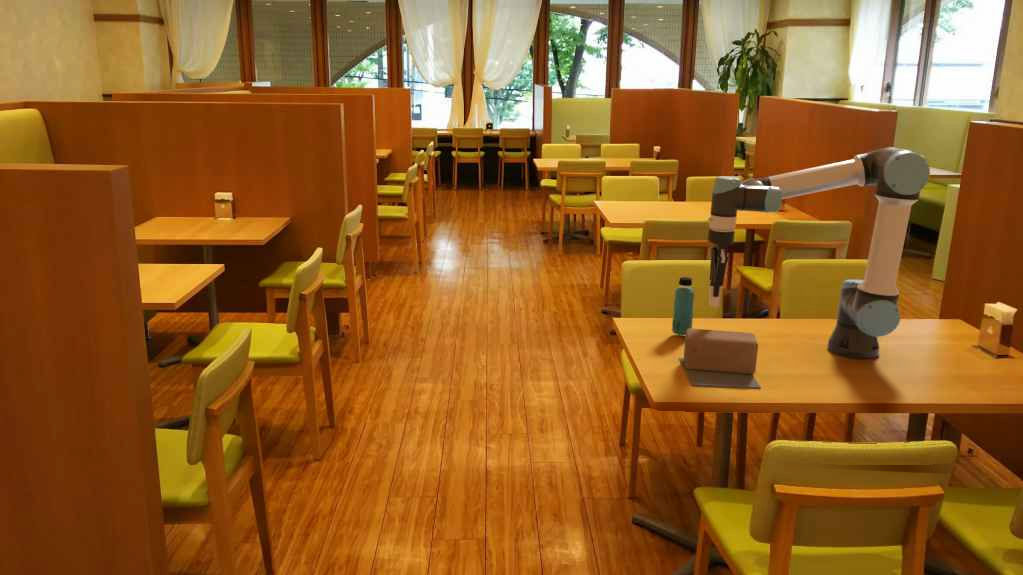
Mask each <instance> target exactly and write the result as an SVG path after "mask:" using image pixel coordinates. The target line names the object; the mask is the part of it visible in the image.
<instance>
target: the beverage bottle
mask: <svg viewBox="0 0 1023 575" xmlns="http://www.w3.org/2000/svg"><path fill="white" fill-rule="evenodd" d="M678 285H680V286H678V287H677V288H676V289H675V290H674V301H673V313H672V314H673V315H672V323H671V325H672V327H671V331H672V333H673V334H675V335H678V336H686V330H687V329H689V328H692V329H693V315H694V301H695V300H694V299H695V294H696V293H695V290H694V289H693V288H692V287H690V286H692V285H693V279H692V278H691V277H687V276H682V277H680V278H679V279H678Z"/></svg>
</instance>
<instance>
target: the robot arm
mask: <svg viewBox="0 0 1023 575" xmlns="http://www.w3.org/2000/svg"><path fill="white" fill-rule="evenodd" d="M930 177H931V168H930V165H929V163H928V161H927V160H926V158H925V157H924V156H922V155H921V154H920V153H918V152H917V151H914V150H911V149H906V148H901V147H897V146H888V147H885V148H881V149H875V150H873V151H868V152H865V153H861V154H856V155H854V156H853V158H852V159H848V160H844V161H839V162H833V163H829V164H825V165H819V166H815V167H814V166H813V167H809V168H804V169H801V170H796V171H791V172H786V173H781V174H776V175H772V176H771V175H770V176H768V177H767V176H766V177H763V178H762V177H761V178H748V179H745V180H743V182H741V179H740V178H739V177H735V176H727V175H726V176H723V175H722V176H718V177H716V178H715V179H714V181H713V186H712V187H713V188H712V191H711V193H712V195H711V206H710V217H708V218H707V221H708V222H709V224H708V225H709V229H708V233H707V241H708V242H709V243H710V244H713V247H711V248H710V267H709V268H710V270H709V281H710V283H709V286H710V288H709V298H708V299H709V300H708V307H712V308H713V307H714V308H719V306H720V296H721V288H722V286H724V279H725V275H726V270H727V263H728V260H729V257H728V249H727V246H728V245H732V244H734V242H735V231H734V230H736V226H737V217H738V216H737V213H738V211H741V212H743V211H744V212H745V211H746V212H756V213H757V212H759V213H766V214H768V213H778V212H779V211H780V209H781V206H782V201H783V200H785V199H789V198H790V199H791V198H794V197H800V196H804V195H810V194H813V193H814V194H816V193H819V192H824V191H829V190H834V189H839V188H845V187H850V186H855V185H857V186H859V187H862V188H863V187H866V186H867V187H868V186H875V190H874V197H876V199H877V201H878V205H877V211H876V215H875V221H874V227H873V231H872V236H871V242H870V245H869V246H870V247H869V253H868V257H867V263H866V268H865V274H864V279H845V280H843V281H842V284H841V287H840V293H839V294H840V295H839V304H838V310H837V311H838V312H837V316H836V317H837V318H836V325H835V327H834V329H833V331H832V332H831V334H830V337H829V339H828V342H827V349H828V350H829V351H830V352H832V353H833V354H836V355H839V356H843V357H847V358H852V359H874V358H876V357H878V356H879V353H880V344H879V340H878V337H884V336H888V335H889V334H891V333H893V332H894V331H895V330H896V329H897V328H898V326H899V325H900V321H901V311H900V308H899V307H898V304H899V299H900V290H899V289H898V288H897V287H896V285H897V279H898V275H899V270H900V265H901V259H902V255H903V249H904V245H905V240H906V235H907V229H908V224H909V220H910V215H911V210H912V206H913V205H914V204H916V203H917V202H919V199H920V195H921V190H923V188H925V187H926V186H927V184H928V182H929V179H930Z"/></svg>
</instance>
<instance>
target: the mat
mask: <svg viewBox="0 0 1023 575" xmlns="http://www.w3.org/2000/svg"><path fill="white" fill-rule="evenodd" d="M678 359H679V362H680V364H681V366H682V368H683V371H684V372H685V374H686V376H687V379H688V381H689V384H690V385H691V386H692V387H709V388H731V389H732V388H734V389H735V388H736V389H754V390H755V389H757V390H758V389H759V390H761V389H762V387H761V385H760V384H759V382H758V381H757V380H756V378H755V376H754V374H740V373H728V372H716V371H704V370H692V369H687V368H685V364H684V357H679V358H678Z"/></svg>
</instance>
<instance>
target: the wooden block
mask: <svg viewBox="0 0 1023 575" xmlns="http://www.w3.org/2000/svg"><path fill="white" fill-rule="evenodd" d="M684 337H685V339H684V350H683V358H684V364H685V368H687V369H692V370H704V371H716V372H728V373H740V374H752V375H754V374H756V368H757V361H758V360H757V358H758V352H759V351H758V350H759V344H758V340H757V338H756V335H755V334H754V333H753V332H742V331H729V330H726V331H725V330H719V329H718V330H716V329H703V328H693V327H692V328H689V329H687V330H686V335H685V336H684Z"/></svg>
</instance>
